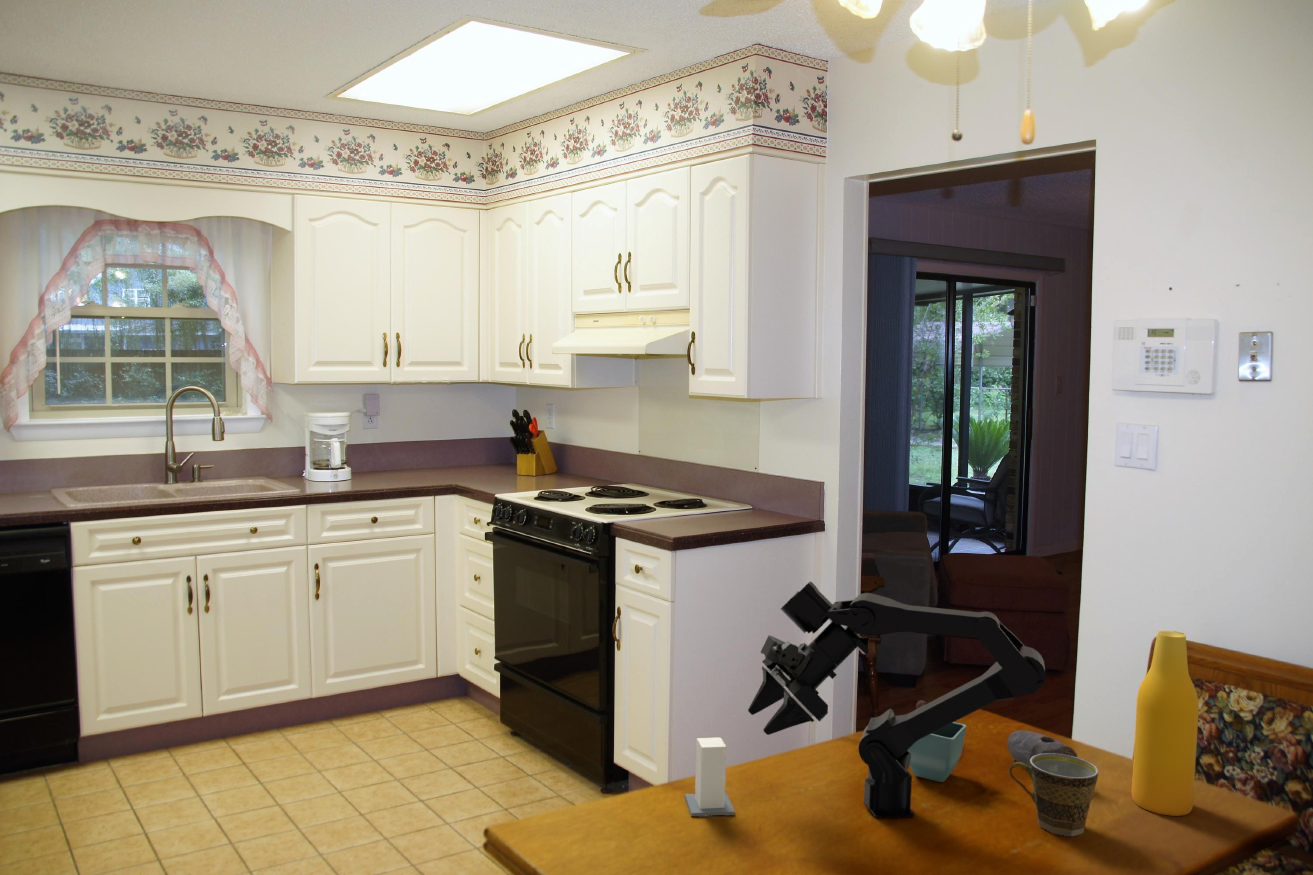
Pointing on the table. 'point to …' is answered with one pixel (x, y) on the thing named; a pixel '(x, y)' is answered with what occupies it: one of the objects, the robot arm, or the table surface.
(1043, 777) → the ceramic cup
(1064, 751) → the perforated stone tool
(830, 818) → the table surface
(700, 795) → the tall block
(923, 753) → the flower pot
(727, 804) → the slate mat
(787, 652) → the robot arm
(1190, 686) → the beer bottle
